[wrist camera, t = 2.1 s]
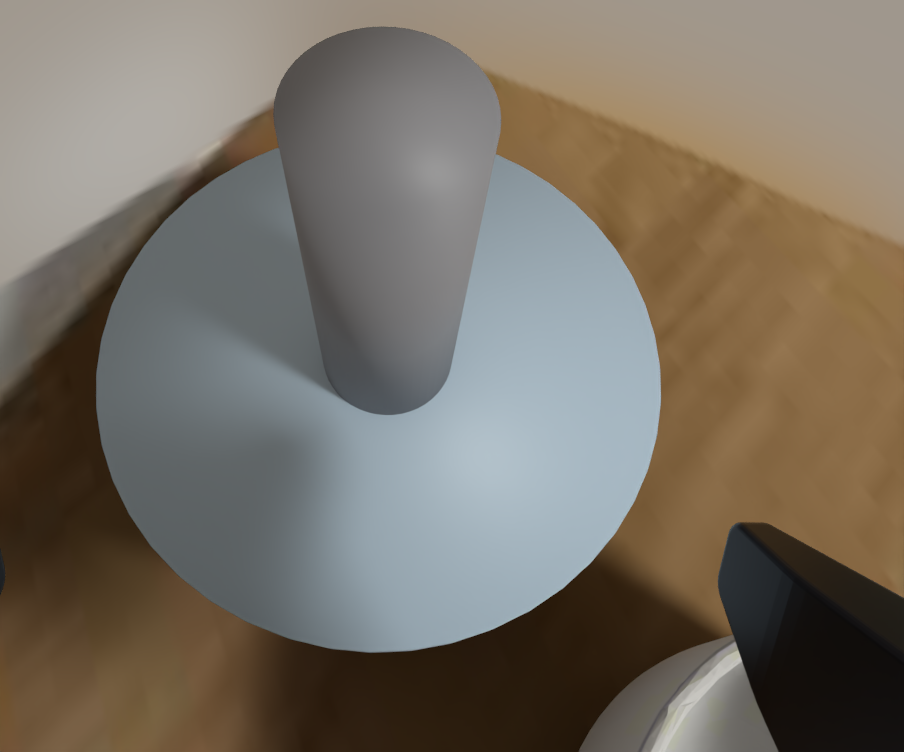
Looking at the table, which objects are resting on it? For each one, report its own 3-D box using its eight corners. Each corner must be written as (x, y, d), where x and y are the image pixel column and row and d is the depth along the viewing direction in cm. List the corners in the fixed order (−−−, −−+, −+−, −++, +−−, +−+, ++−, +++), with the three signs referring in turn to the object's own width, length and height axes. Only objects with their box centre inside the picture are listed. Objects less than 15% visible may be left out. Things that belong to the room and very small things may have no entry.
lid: (301, 792, 14) (186, 952, 6) (16, 305, 18) (-307, -15, 10) (753, 434, 18) (1061, 233, 10) (446, 86, 22) (483, -282, 13)
